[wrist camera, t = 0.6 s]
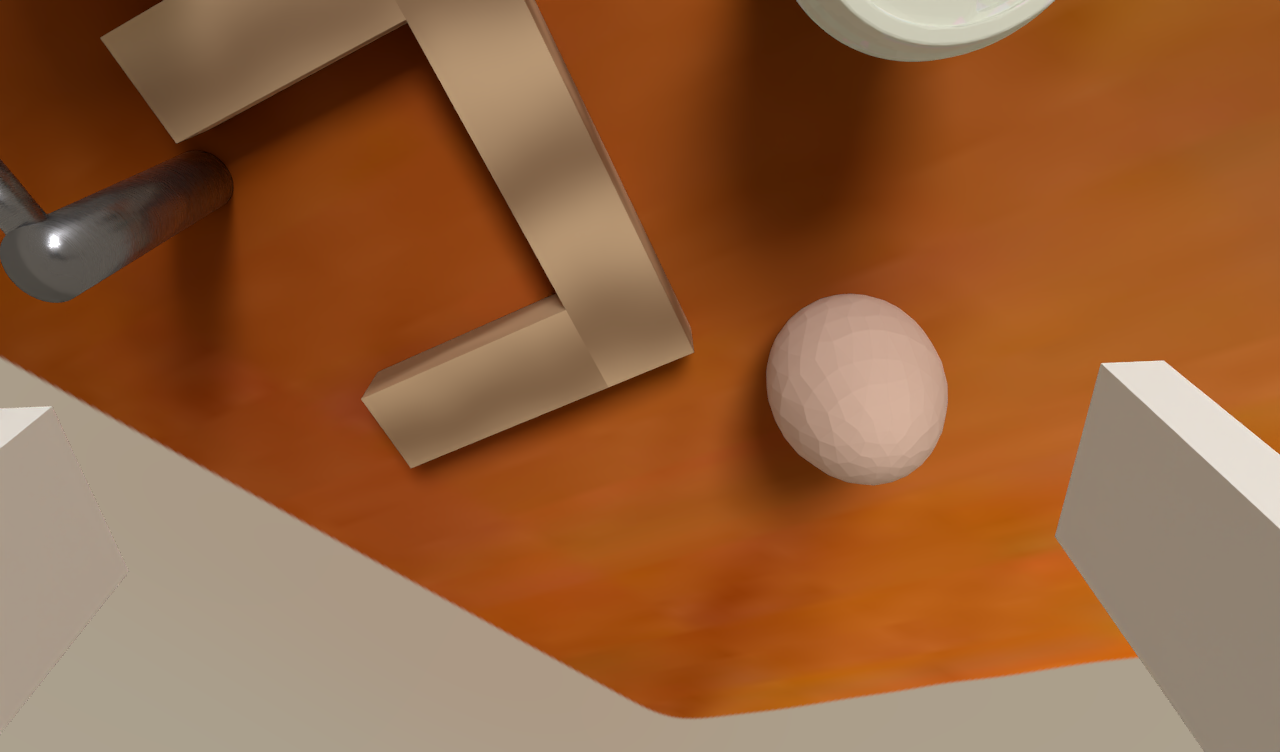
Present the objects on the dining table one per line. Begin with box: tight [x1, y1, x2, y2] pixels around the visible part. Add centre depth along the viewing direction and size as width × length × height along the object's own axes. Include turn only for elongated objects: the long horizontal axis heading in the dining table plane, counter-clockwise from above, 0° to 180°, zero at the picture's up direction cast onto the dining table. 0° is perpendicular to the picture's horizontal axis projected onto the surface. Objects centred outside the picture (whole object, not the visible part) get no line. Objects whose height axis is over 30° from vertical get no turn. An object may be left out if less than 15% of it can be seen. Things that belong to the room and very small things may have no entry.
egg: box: [766, 294, 948, 485], centre depth 32 cm, size 7×7×10 cm
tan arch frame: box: [100, 0, 694, 468], centre depth 32 cm, size 20×14×2 cm
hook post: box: [0, 150, 233, 303], centre depth 28 cm, size 5×2×10 cm, turn 25°
